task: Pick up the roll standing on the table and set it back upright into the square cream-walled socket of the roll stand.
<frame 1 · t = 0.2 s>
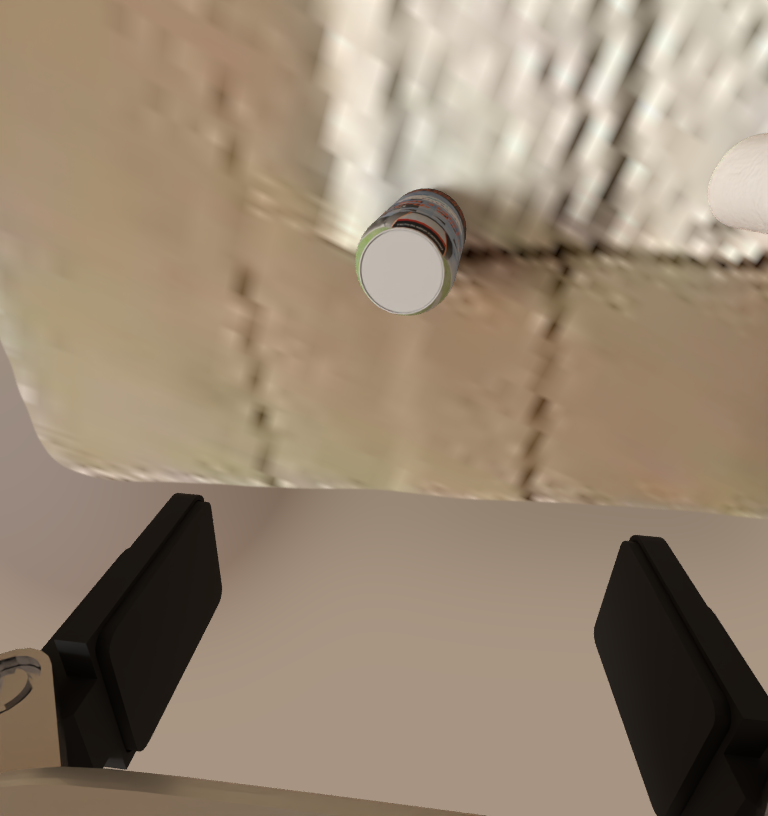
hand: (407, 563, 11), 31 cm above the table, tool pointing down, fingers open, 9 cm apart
beverage can: (418, 237, 38), on the table
roll: (749, 182, 34), on the table
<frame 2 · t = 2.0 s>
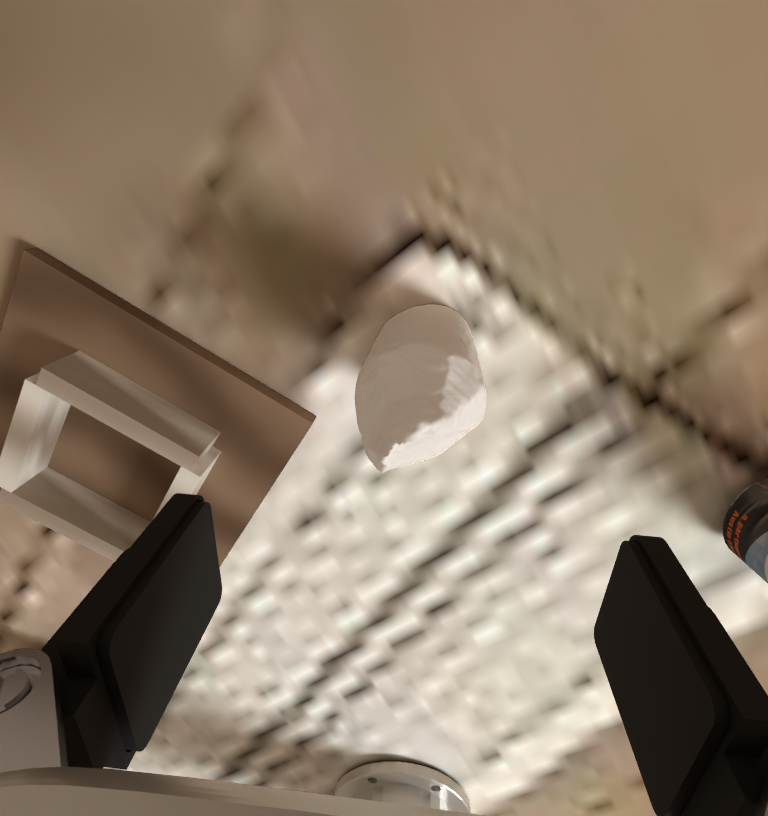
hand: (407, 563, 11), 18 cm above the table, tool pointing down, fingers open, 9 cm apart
roll stand: (132, 446, 32), on the table
roll: (422, 350, 28), on the table
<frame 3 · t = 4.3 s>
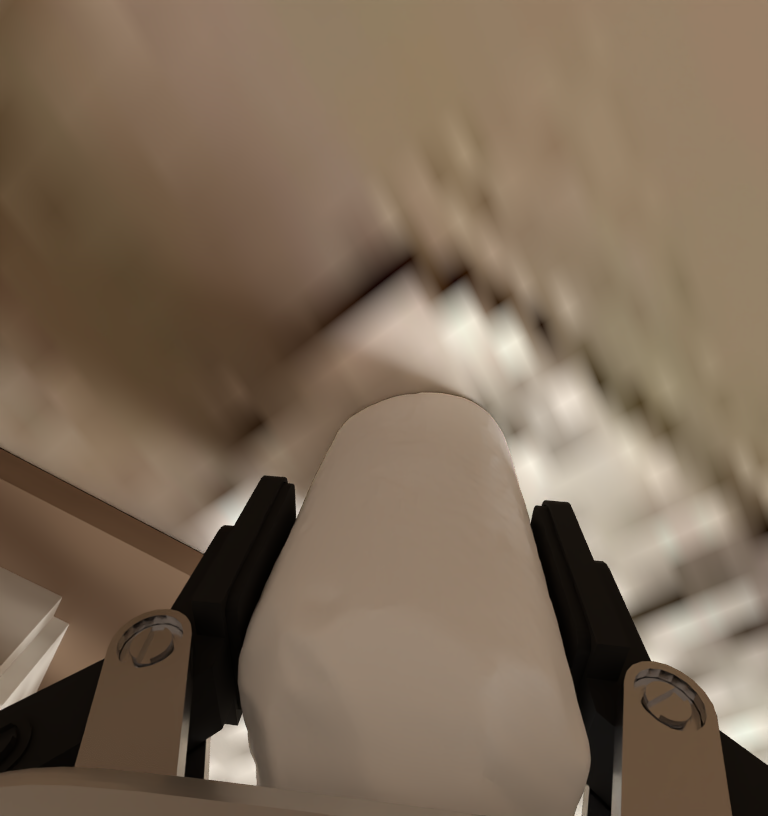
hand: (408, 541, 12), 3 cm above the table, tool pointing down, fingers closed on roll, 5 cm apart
roll: (413, 468, 15), on the table, touching gripper
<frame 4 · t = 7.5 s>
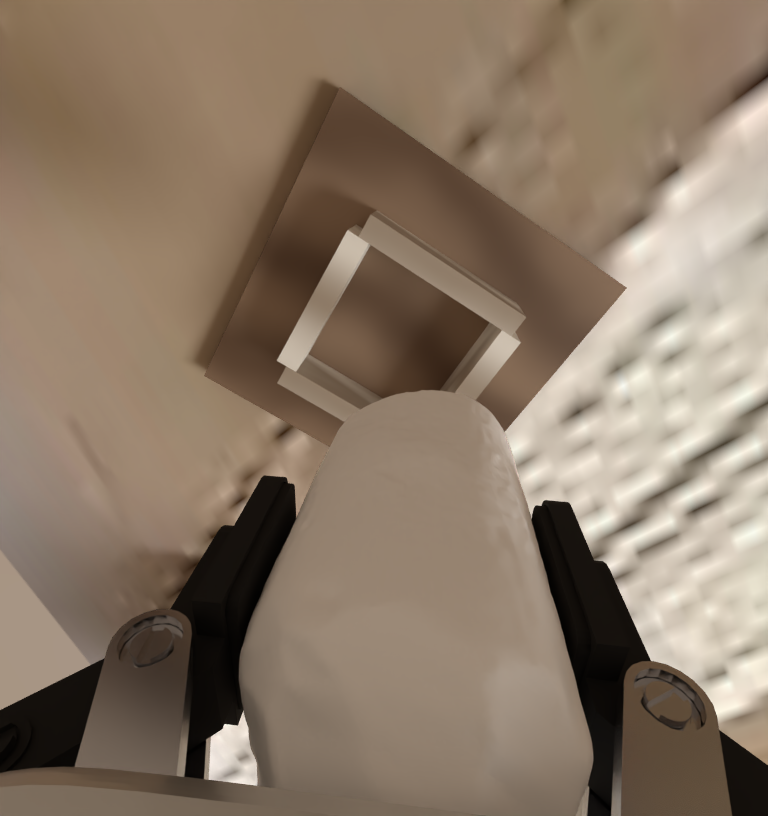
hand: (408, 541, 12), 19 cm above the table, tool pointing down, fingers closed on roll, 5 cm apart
roll stand: (399, 330, 29), on the table
roll: (414, 467, 15), point 16 cm above the table, touching gripper
when the fingers open (5 cm above the table, at t = 11.2 s): roll drops 1 cm, resting on roll stand.
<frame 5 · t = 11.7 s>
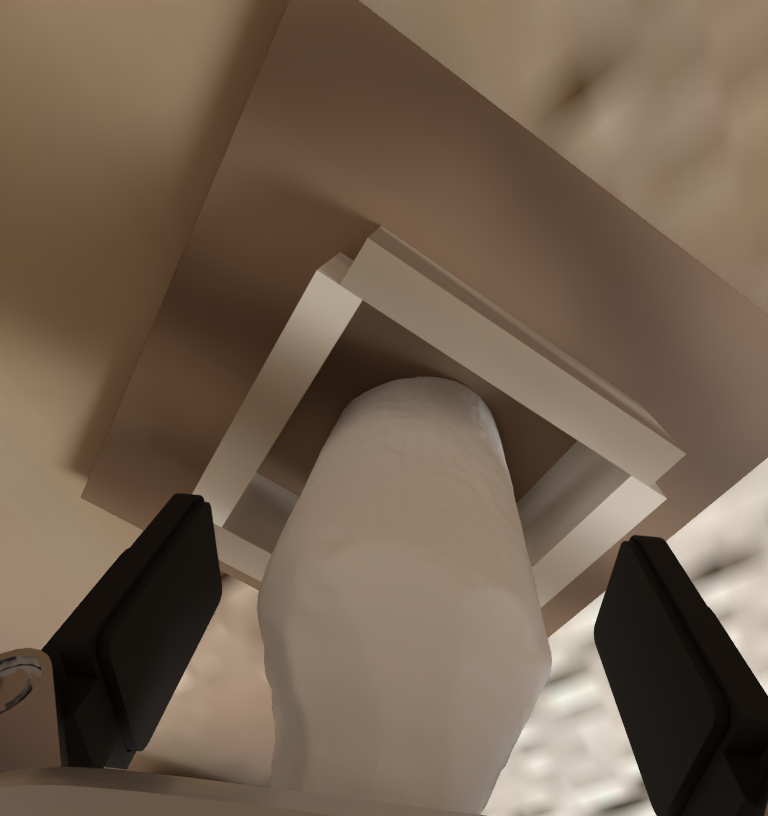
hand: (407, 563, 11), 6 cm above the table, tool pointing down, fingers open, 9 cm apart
roll stand: (416, 434, 17), on the table
roll: (410, 447, 16), point 1 cm above the table, touching roll stand
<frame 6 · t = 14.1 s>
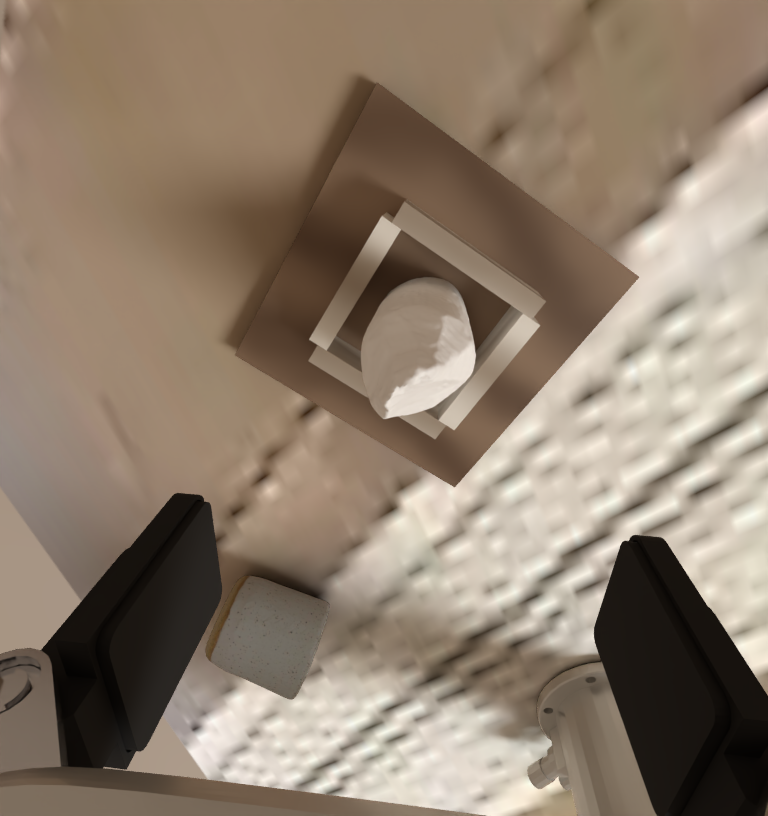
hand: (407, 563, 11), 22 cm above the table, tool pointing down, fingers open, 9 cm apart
ceramic mug: (280, 606, 44), on the table
roll stand: (422, 314, 31), on the table
roll: (420, 319, 30), point 1 cm above the table, touching roll stand
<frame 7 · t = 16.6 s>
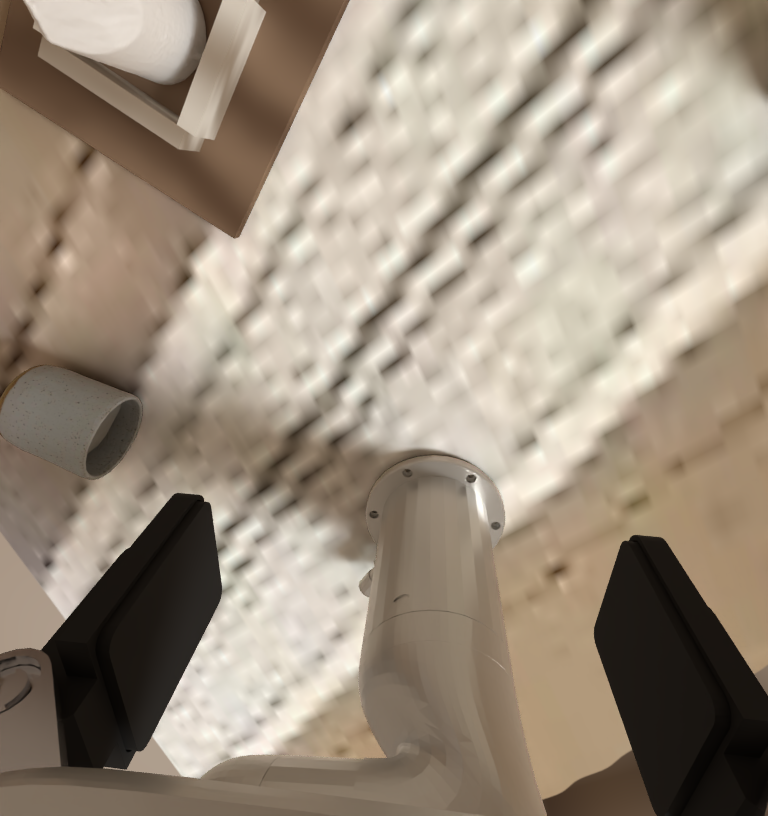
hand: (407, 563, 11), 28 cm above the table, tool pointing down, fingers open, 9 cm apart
ceramic mug: (102, 413, 44), on the table
roll stand: (172, 31, 31), on the table
roll: (164, 29, 30), point 1 cm above the table, touching roll stand
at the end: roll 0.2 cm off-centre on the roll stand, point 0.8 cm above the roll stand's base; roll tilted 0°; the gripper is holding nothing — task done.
